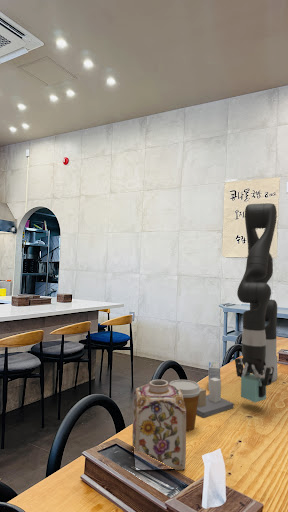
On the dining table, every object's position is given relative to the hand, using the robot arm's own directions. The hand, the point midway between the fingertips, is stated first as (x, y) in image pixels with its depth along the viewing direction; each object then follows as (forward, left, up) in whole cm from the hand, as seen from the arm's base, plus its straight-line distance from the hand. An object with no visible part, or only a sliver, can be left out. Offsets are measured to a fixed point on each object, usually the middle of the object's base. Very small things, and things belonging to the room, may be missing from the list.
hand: (253, 393), depth 113 cm
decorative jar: (+44, +6, -5) cm, 45 cm away
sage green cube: (0, 0, -1) cm, 1 cm away
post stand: (+12, -9, -5) cm, 16 cm away
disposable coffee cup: (+28, -3, -5) cm, 29 cm away
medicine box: (-4, -21, -5) cm, 22 cm away
